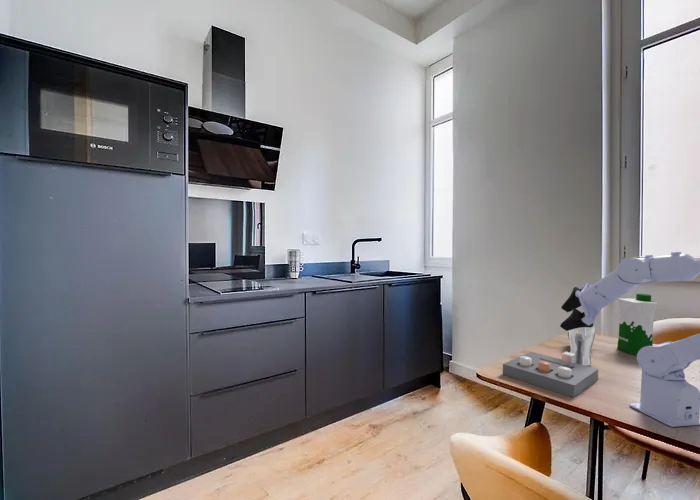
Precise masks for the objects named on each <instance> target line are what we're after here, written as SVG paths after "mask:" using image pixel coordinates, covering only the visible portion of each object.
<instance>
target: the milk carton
mask: <svg viewBox="0 0 700 500" xmlns="http://www.w3.org/2000/svg"><path fill="white" fill-rule="evenodd" d="M635 295H636V297H635V298H627V297H625V298H618V305H619V323H618V324H619V326H618V327H619V328H618V337H617V338H618V340H617V347H616V348H617V349H618V350H621V351H623V352H625V353H628V354H630V355H636V356H637V354H638V352H639V350H640V349H641V348H643V347H646V346H654V345H653V344H654V341H653V339H654V335H653V334H654V322H655V321H654V320H655V313H656V309H657V306H658V302H656V301H653V300H652V294H647V293H636V294H635Z"/></svg>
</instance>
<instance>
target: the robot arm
mask: <svg viewBox="0 0 700 500" xmlns="http://www.w3.org/2000/svg"><path fill="white" fill-rule="evenodd" d="M699 275H700V258H695V257H693V256H692V255H690V254H688V253H682V252H681V251H673V252H670V255H667V254H666V255H659V256H654V255H653V254H646V255H645V256H644V257H629V258H625V259H623V260H622V261H620V263H619V264H618V266H617V268H616V269H615V270H613V271H611V272H609V273H608V274H607V275H605V276H604V277H602V278H600V279H599V280H598V281H597V282H595V283H594V284H590V283H588V282H585V283H584V284H583V285H582V286H581V288H578V287H577V286H574V287H573V289H572V291H571V294H570V295H569V296H568V298H567V299H566V300H565V302H564V303H563V304H562V305H561V307H560V308H561V309H562V310H563V311H565V312H566V313H570V312H571V313H570V314H571V315H570V314H569V316H568V317H567V318H566V319H564V321H562V322H561V323H560V325H559V326H560V328H561V329H563V330H564V331H566V332H568V330H572V329H576V328H581V327H590V328H591V327H593V323H594V322H595V323H596V318H597V317H598V314H599V313H600V312H601V310H602V309H603V308H605V307H607V306H608V305H610V304H612V303H614V302H615V301H617V300H619V299H621V298H622V297H623V296H625V295H626V294H628V293H630V292H631V291H632V290H633V289H635V288H636V287H638V286H640V285H641V283H644V284H646V283H651V282H655V283H664V282H665V283H666V282H667V283H668V282H690V281H693V280H695V278H696V277H698V276H699ZM580 307H581V308H582V311H580V310H579V309H578V308H580ZM636 360H637V364H638V365H639V367H640V368H641V379H640V381H641V382H640V383H641V384H640V396H639V397H640V400H639V402H636V403H634V402H633V403H629V406H630V407H631V408H633V409H635V410H636V411H639V412H641V413H643V414H645V415H647V416H649V417H651V418H653V419H655V420H657V421H659V422H660V423H663V424H665V425H667V426H669V427H672V428H674V427H677V428H678V427H686V426H687V427H688V426H699V425H700V390H699V388H698V387H696V386H695V385H693V384H691V383H689V381H687V380H686V374H685V372H684V371H685V369H688V368H689V367H690V365H691V364H692V363H693V362H696V361H699V360H700V333H696V334H694V335H690V336H688V337H686V338H682V339H680V340H676V341H664V342H661V343H658V344H654V345H653V346H646V347H643V348H641V349H640V350H639V352H638V354H637V355H636Z"/></svg>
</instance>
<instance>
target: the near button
mask: <svg viewBox="0 0 700 500" xmlns="http://www.w3.org/2000/svg"><path fill="white" fill-rule="evenodd" d="M558 376H560V377H563V378H567V379H571V369H570V368H568V367H562V366H560V367H558Z"/></svg>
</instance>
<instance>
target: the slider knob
mask: <svg viewBox="0 0 700 500" xmlns="http://www.w3.org/2000/svg"><path fill="white" fill-rule="evenodd" d="M570 352H571V351H570ZM570 352H568V351H565V352H562V353H561V359H562V364H561V365H564V366H567V367H573V366H574V365H575V354H574V353H570Z"/></svg>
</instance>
